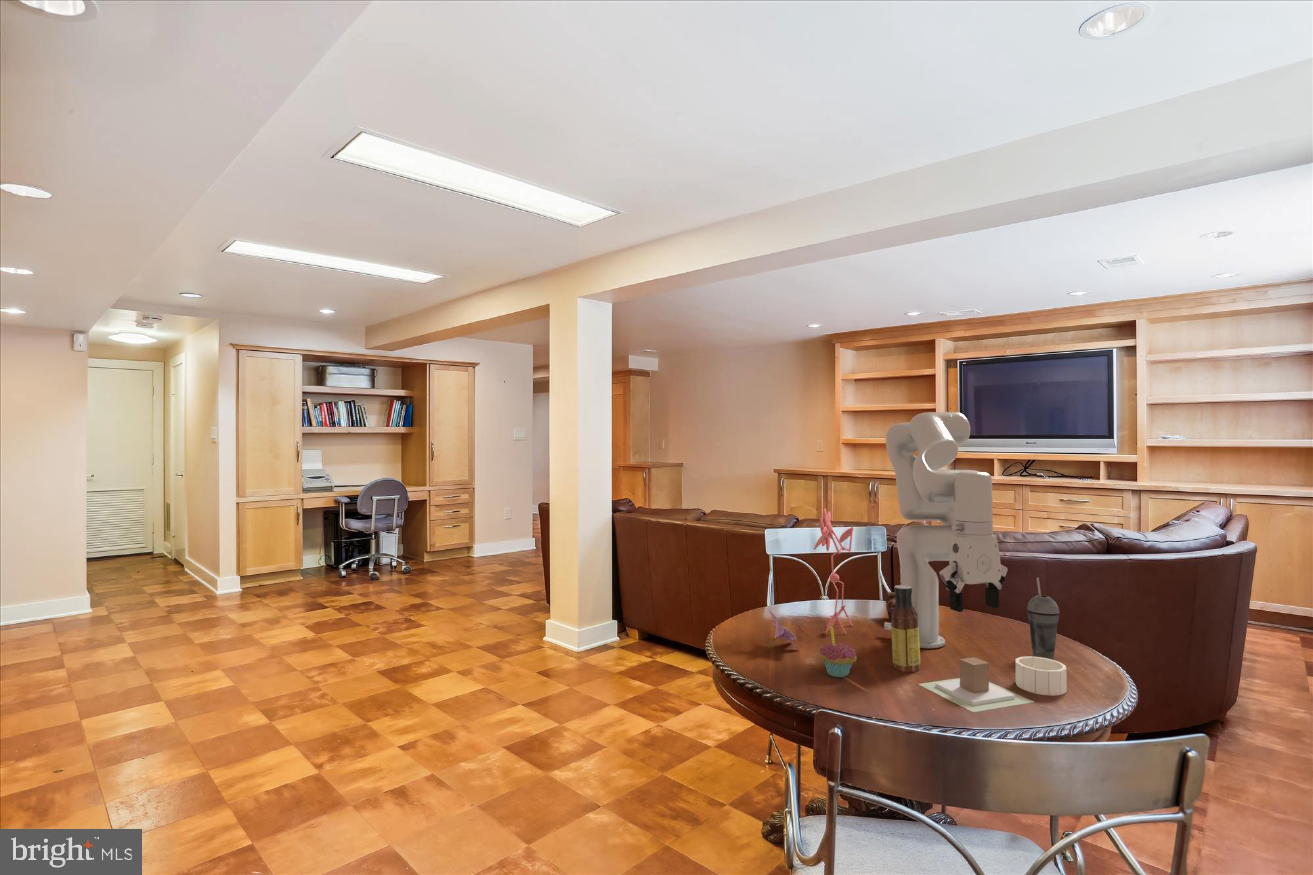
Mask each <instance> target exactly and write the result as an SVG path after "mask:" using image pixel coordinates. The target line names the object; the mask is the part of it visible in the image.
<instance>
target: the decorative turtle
mask: <svg viewBox="0 0 1313 875" xmlns="http://www.w3.org/2000/svg"><path fill="white" fill-rule="evenodd" d="M884 597H885V598H884V599H885V606H886V608H885V609H886V611H887V615H888V619H889V620H890V621H891V612H892V610H893V608H894V607H895V592H894V591H889V592H887V593H885V596H884Z"/></svg>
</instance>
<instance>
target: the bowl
mask: <svg viewBox="0 0 1313 875" xmlns="http://www.w3.org/2000/svg"><path fill="white" fill-rule="evenodd" d="M1067 670H1068V669H1067V666H1066V665H1065V664H1064V663H1062V662H1060V661H1058V660H1055V659H1053V660H1051V659H1047V658H1041V657H1034V656H1033V655H1030V656H1028V655H1026V656H1019V657H1016V658H1015V685H1016V686H1017V687H1018V688H1020V689H1021V690H1023V691H1027V692H1028V693H1032V694H1036V695H1037V694H1038V695H1042V696H1054V697H1055V696H1062V695H1064V694H1066V693H1067V691H1068V687H1067V683H1068V682H1067V678H1068V677H1067Z"/></svg>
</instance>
